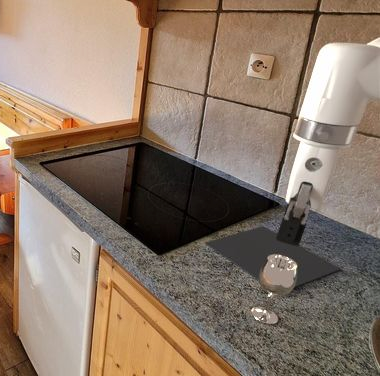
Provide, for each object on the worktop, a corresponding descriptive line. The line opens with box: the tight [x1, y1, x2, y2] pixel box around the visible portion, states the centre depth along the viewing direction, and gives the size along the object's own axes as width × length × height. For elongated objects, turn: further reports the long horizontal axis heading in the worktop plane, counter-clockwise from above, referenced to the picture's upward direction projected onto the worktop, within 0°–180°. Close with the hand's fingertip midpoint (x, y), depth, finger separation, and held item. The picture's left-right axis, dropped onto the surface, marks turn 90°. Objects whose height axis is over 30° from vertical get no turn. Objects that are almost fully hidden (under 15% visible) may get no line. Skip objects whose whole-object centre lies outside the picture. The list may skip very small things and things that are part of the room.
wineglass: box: [251, 254, 297, 325], centre depth 73 cm, size 6×6×12 cm
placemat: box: [204, 225, 342, 290], centre depth 93 cm, size 20×20×1 cm
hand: (290, 230), depth 67 cm, fingers open, 9 cm apart
